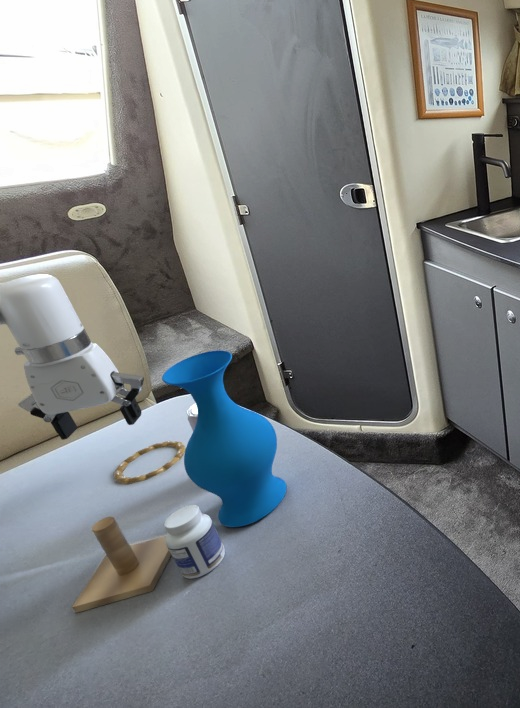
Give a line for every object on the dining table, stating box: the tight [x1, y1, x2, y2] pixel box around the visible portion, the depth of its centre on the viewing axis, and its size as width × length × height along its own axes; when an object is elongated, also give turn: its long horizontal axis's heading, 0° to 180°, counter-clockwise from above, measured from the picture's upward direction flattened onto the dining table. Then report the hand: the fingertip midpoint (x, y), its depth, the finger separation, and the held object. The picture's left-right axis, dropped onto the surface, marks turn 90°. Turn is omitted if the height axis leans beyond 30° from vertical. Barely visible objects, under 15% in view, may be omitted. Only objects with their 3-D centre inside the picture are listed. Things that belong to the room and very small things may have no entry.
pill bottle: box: [163, 504, 226, 580], centre depth 73 cm, size 5×5×10 cm
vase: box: [161, 349, 288, 528], centre depth 79 cm, size 12×13×28 cm
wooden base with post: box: [71, 516, 172, 614], centre depth 72 cm, size 9×9×10 cm
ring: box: [113, 440, 186, 485], centre depth 94 cm, size 10×10×1 cm
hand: (103, 427), depth 89 cm, fingers open, 9 cm apart
